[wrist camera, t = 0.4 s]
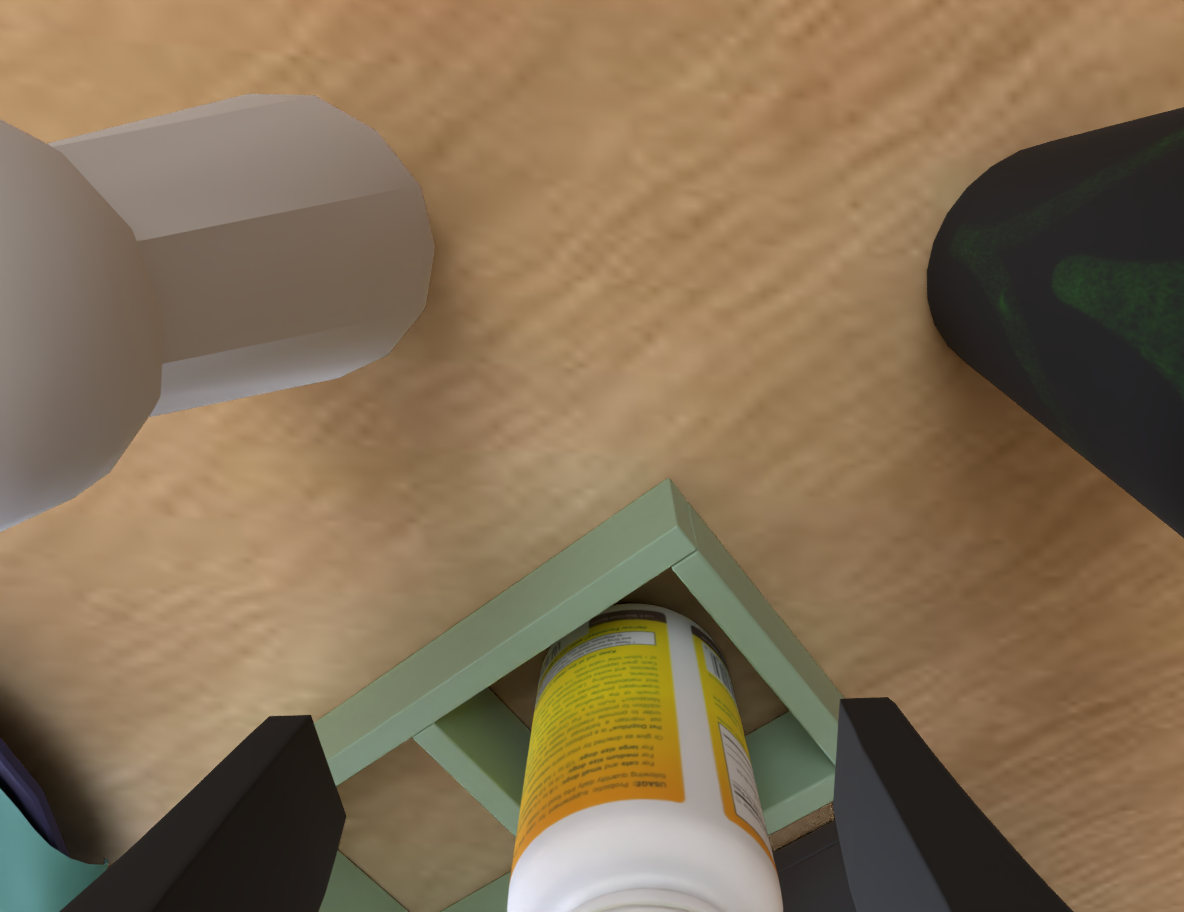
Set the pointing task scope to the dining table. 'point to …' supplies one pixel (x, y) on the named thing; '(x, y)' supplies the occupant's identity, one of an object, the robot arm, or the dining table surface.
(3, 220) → the salt shaker
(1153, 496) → the cup
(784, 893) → the dark grey storage bin
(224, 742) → the dining table surface
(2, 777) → the cutlery set
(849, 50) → the dining table surface
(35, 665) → the dining table surface
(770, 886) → the supplement bottle
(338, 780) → the dish rack
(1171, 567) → the dining table surface
